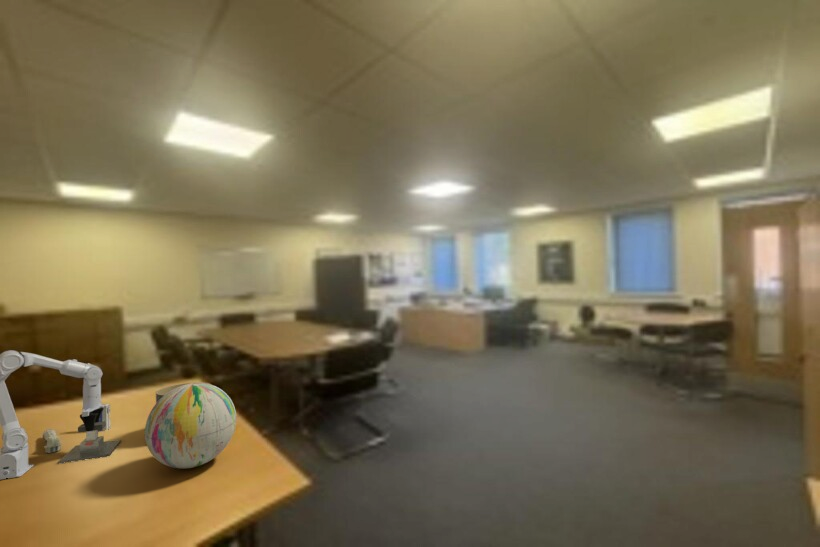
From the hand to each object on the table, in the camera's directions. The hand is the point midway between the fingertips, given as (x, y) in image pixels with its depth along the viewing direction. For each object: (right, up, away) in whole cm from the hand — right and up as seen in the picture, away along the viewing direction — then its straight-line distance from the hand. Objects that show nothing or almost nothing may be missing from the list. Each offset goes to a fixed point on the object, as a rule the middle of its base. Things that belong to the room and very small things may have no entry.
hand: (91, 429), depth 161 cm
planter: (+27, -10, +19) cm, 34 cm away
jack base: (0, -9, 0) cm, 9 cm away
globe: (+48, -8, -13) cm, 51 cm away
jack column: (0, -6, 0) cm, 6 cm away
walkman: (-16, -10, +25) cm, 31 cm away
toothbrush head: (-24, -11, +8) cm, 28 cm away
